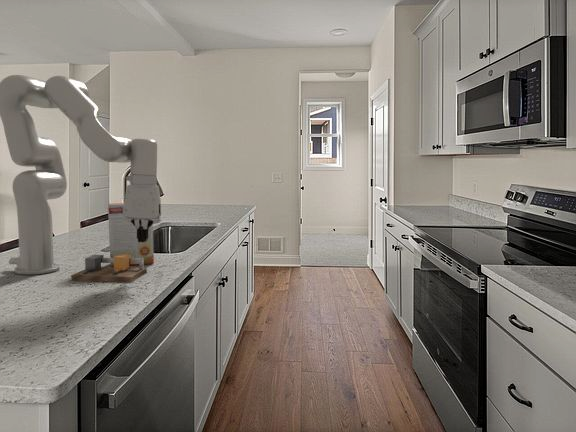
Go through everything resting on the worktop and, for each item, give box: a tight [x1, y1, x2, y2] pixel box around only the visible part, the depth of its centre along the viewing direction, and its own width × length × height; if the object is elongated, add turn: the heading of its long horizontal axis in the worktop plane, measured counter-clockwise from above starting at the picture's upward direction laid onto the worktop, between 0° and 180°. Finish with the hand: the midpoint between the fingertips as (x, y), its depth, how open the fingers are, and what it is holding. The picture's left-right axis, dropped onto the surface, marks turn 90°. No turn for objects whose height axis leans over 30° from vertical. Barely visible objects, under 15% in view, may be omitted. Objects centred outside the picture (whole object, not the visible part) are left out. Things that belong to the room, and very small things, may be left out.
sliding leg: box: [113, 254, 131, 273], centre depth 146 cm, size 3×10×4 cm, turn 176°
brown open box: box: [70, 266, 148, 283], centre depth 145 cm, size 18×12×2 cm, turn 86°
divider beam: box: [84, 254, 145, 274], centre depth 146 cm, size 17×9×4 cm, turn 86°
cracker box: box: [107, 202, 155, 267], centre depth 163 cm, size 14×6×21 cm, turn 113°
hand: (142, 241), depth 145 cm, fingers closed
